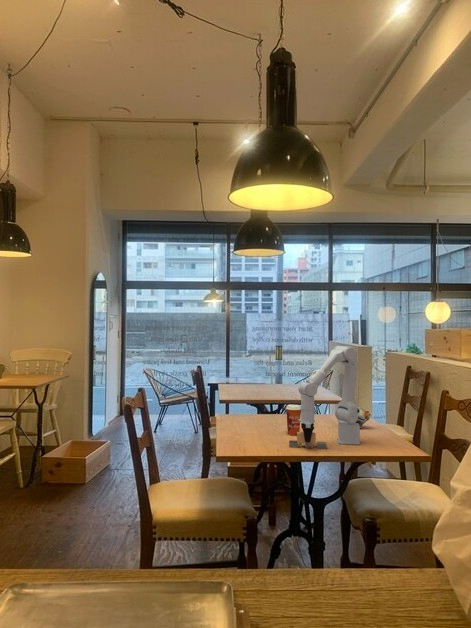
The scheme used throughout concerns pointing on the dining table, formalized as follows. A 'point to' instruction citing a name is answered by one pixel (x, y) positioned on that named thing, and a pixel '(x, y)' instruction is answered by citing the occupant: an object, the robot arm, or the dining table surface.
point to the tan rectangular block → (302, 440)
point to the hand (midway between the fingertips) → (307, 441)
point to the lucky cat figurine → (362, 416)
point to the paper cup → (293, 419)
